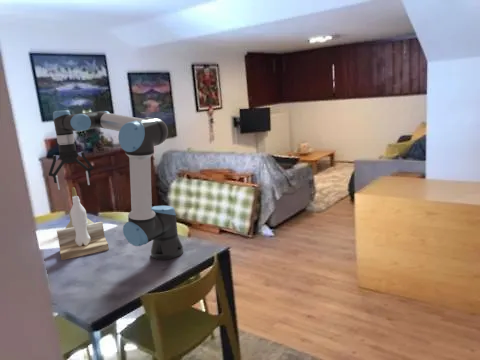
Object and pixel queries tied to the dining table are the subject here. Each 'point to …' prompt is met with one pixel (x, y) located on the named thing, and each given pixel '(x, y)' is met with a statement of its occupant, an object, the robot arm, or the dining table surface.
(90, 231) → the board
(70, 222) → the handbell
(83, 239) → the water bottle
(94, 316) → the dining table surface
